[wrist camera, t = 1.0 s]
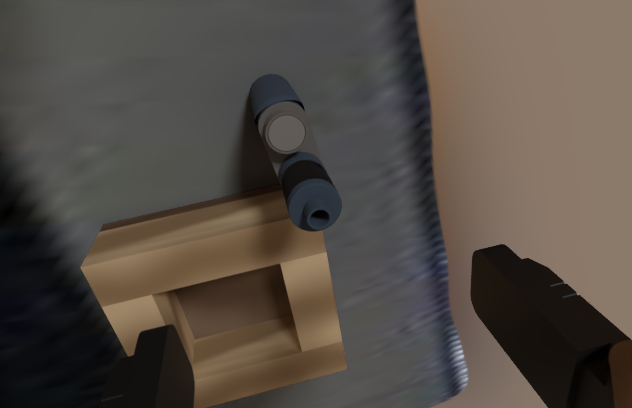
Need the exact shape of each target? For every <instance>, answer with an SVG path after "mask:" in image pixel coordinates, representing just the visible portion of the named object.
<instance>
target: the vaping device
mask: <svg viewBox="0 0 632 408" xmlns="http://www.w3.org/2000/svg"><path fill="white" fill-rule="evenodd" d="M249 97H250V102H251V106H252V111H253V116H254V121H255V125H256V127H257V129H258V131H259V133H260V135H261V138H262V140H263V143H264V145H265V148H266V150H267V152H268V155H269V157H270V160H271V162H272V165H273V167H274V170H275V172H276V175H277V177H278V180H279V182H280V185H281V188H282V192H283V195H284V199H285V202H286V206H287V210H288V213H289V217H290V219H291V221H292V222H293V223H294V225H296V226H297V227H298V228H300V229H302V230H305V231H309V232H315V231H321V230H324V229H326V228H328V227H329V226H331V225H332V224H333V223H334V222H335V221H336V220H337V219H338V217H339V215H340V212H341V208H342V202H341V198H340V196H339V194H338V192H337V190H336V188H335V186H333V183H332V181H331V179H330V177H329V176H328V174H327V172H326V170H325V168H324V167H323V164H322V161H321V158H320V155H319V152H318V149H317V146H316V143H315V140H314V137H313V134H312V131H311V128H310V125H309V122H308V119H307V116H306V113H305V110H304V106H303V104H302V103H301V101H300V99H299V98H298V96H297V95H296V93H295V92H294V90H293V89H292V87H291V86H290V84H289V83H288V82H287V80H285V79H284V78H283V77H281V76H279V75H273V74H269V75H265V76H262V77H260V78H258V79H257V80H256V81H255V82H254V83H253V84H252V86H251V88H250V92H249Z"/></svg>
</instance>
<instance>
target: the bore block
mask: <svg viewBox="0 0 632 408" xmlns="http://www.w3.org/2000/svg"><path fill="white" fill-rule="evenodd" d="M81 270H82V271H83V273H84V275H85V277H86V279H87V281H88V283H89V284H90V286H91V288H92V290H93V292H94V294H95V296H96V297H97V299H98V301H99V303H100V305H101V307H102V308H103V310H104V312H105V314H106V316H107V318H108V320H109V321H110V323H111V325H112V327H113V329H114V331H115V333H116V334H117V336H118V338H119V340H120V342H121V344H122V346H123V347H124V349H125V351H126V353H127V355H128V356H132V355H134V351H135V347H136V343H137V339H138V336H139V333H140V332H141V331H144V330H148V329H152V328H157V327H161V326H165V325H169V324H173V325H174V326H175V328H176V330H177V332H178V335H179V337H180V339H181V342H182V344H183V346H184V349H185V351H186V353H187V356H188V358H189V361H190V363H191V366H192V369H193V374H194V381H195V394H194V407H193V408H207V407H210V406H214V405H218V404H221V403H225V402H229V401H232V400H236V399H240V398H243V397H247V396H251V395H254V394H258V393H262V392H265V391H269V390H273V389H276V388H280V387H284V386H287V385H291V384H295V383H298V382H302V381H306V380H309V379H313V378H317V377H320V376H324V375H328V374H331V373H335V372H338V371H342V370H346V369H347V365H346V360H345V354H344V349H343V343H342V337H341V332H340V326H339V321H338V315H337V309H336V304H335V298H334V292H333V287H332V281H331V276H330V270H329V264H328V259H327V253H326V248H325V242H324V236H323V231H322V230H321V231H315V232H309V231H305V230H302V229H300V228H298V227H297V226H296V225H294V223H293V222H292V221H291V219H290V217H289V213H288V210H287V206H286V202H285V199H284V195H283V192H282V188H281V185H275V186H271V187H267V188H262V189H258V190H253V191H249V192H244V193H240V194H236V195H231V196H227V197H222V198H218V199H214V200H209V201H205V202H200V203H196V204H192V205H187V206H183V207H178V208H174V209H169V210H165V211H161V212H156V213H152V214H147V215H143V216H139V217H134V218H130V219H125V220H121V221H117V222H112V223H108V224H103V226H102V228H101V230H100V232H99V234H98V236H97V237H96V239H95V241H94V243H93V245H92V247H91V249H90V251H89V253H88V254H87V256H86V258H85V260H84V262H83V264H82V266H81Z"/></svg>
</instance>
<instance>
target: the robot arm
mask: <svg viewBox="0 0 632 408" xmlns="http://www.w3.org/2000/svg"><path fill="white" fill-rule="evenodd" d="M471 301H472V304H473V307H474V309H475V312H476V314H477V315H478V317H479V318H480V319H481V321H482V322H483V323H484V325H485V326H486V327H487V329H488V330H489V331H490V333H491V334H492V335H493V336H494V338H495V339H496V340H497V342H498V343H499V344H500V346H501V347H502V348H503V350H504V351H505V352H506V353H507V355H508V356H509V357H510V359H511V360H512V361H513V362H514V364H515V365H516V366H517V368H518V369H519V370H520V372H521V373H522V374H523V376H524V377H525V378H526V379H527V381H528V382H529V383H530V385H531V386H532V387H533V389H534V390H535V391H536V392H537V394H538V395H539V396H540V398H541V399H542V400H543V402H544V403H545V404H546V405H547V407H548V408H632V340H631V339H630V338H629V337H627V336H626V335H625V334H624V333H623V332H622V331H620V330H619V329H618V328H617V327H616V326H615V325H614V324H612V323H611V322H610V321H609V320H608V319H606V318H605V317H604V316H603V315H602V314H601V313H600V312H599V311H597V310H596V309H595V308H594V307H593V306H592V305H591V304H589V303H588V302H587V301H586V300H585V299H584V298H582V297H581V296H580V295H577V294H576V291H574V290H573V289H572V288H571V287H570V286H569V285H568V284H564V282H563V280H562V279H561V278H559V277H558V276H557V275H556V274H555V273H554V272H552V271H551V270H550V269H549V268H548V267H546V266H544V265H541V264H539V263H537V262H535V261H533V260H531V259H529V258H525V259H521V258H519V257H518V256H517V255H516V254H515V253H514V252H513V251H512V250H511V249H510V248H509V247H507V246H506V245H503V244H501V245H496V246H493V247H488V248H484V249H480V250H476V251H475V252H474V253H473V256H472V275H471ZM194 394H195V381H194V374H193V369H192V366H191V363H190V361H189V358H188V356H187V353H186V351H185V349H184V346H183V344H182V342H181V339H180V337H179V335H178V332H177V330H176V328H175V326H174V325H173V324H169V325H165V326H161V327H157V328H152V329H148V330H144V331H141V332H140V333H139V336H138V339H137V343H136V347H135V351H134V355H132V356H128V357H124V358H121V359H120V361H119V362H118V364H117V365H116V366H115V368H114V369H113V371H112V372H111V374H110V375H109V376H108V378H107V381H106V384H105V387H104V391H103V394H102V397H101V403H100V404H99V407H98V408H193V407H194Z"/></svg>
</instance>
